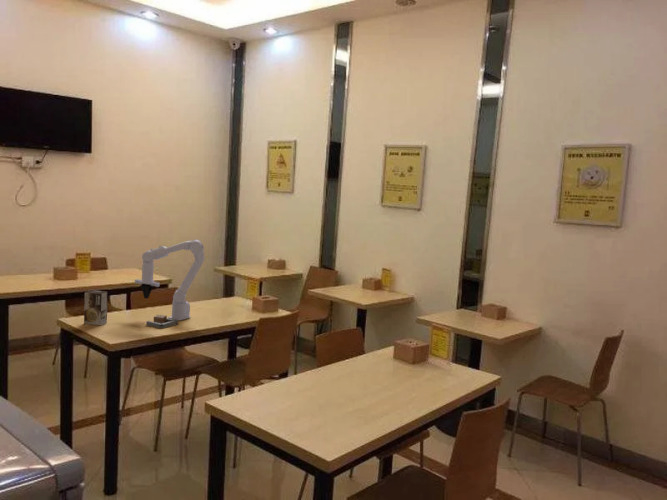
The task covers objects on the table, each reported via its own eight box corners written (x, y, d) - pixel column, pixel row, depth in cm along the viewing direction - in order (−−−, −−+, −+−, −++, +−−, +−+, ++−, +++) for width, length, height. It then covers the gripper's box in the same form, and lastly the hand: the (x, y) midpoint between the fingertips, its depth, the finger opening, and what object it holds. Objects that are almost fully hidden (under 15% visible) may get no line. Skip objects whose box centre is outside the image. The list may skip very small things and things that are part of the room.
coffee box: (107, 322, 275) (108, 291, 274) (100, 325, 269) (101, 293, 267) (90, 320, 276) (91, 289, 274) (83, 323, 270) (84, 291, 268)
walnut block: (157, 322, 285) (157, 314, 285) (166, 323, 285) (166, 315, 285) (153, 324, 280) (153, 316, 280) (162, 325, 280) (163, 317, 280)
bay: (162, 320, 288) (162, 317, 288) (177, 324, 284) (177, 320, 284) (146, 325, 277) (146, 321, 277) (161, 328, 273) (161, 324, 273)
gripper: (163, 274, 292) (162, 298, 293) (141, 270, 296) (140, 295, 298) (155, 275, 285) (154, 300, 287) (132, 272, 290) (131, 297, 291)
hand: (146, 298), depth 292 cm, fingers closed
